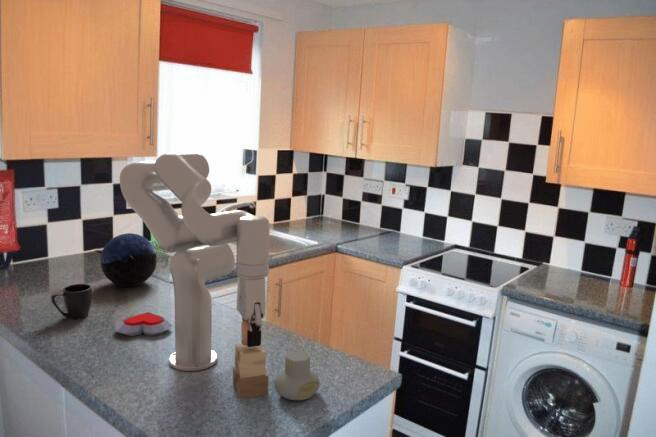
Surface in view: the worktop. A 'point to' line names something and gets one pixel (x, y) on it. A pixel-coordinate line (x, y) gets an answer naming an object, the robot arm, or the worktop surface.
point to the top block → (249, 360)
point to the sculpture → (143, 325)
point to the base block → (250, 385)
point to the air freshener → (297, 378)
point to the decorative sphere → (128, 259)
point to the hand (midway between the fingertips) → (251, 340)
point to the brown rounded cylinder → (245, 331)
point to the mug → (75, 301)
